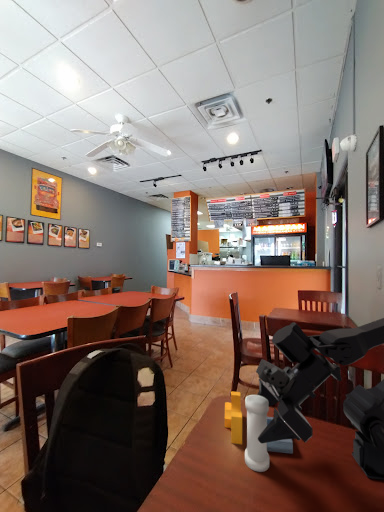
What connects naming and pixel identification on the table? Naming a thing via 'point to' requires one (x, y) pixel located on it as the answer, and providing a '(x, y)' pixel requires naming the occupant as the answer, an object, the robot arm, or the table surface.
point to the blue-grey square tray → (280, 443)
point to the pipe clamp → (234, 417)
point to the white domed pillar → (256, 433)
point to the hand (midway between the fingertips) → (254, 426)
